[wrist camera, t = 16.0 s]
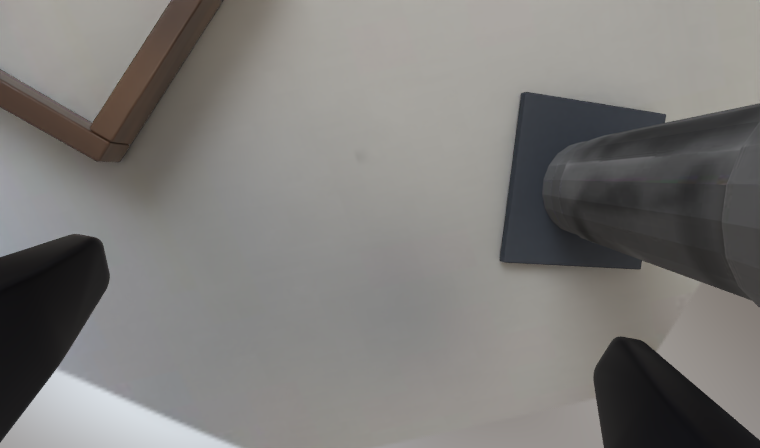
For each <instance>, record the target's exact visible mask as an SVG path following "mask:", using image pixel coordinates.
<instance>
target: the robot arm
mask: <svg viewBox="0 0 760 448" xmlns="http://www.w3.org/2000/svg"><path fill="white" fill-rule="evenodd" d="M109 279H110V274H109V269H108V265H107V260H106V256H105V251H104V246H103V243H102V242H101V241H100V240H99V239H98V238H95V237H90V236H85V235H80V234H72V235H68V236H65V237H62V238H59V239H56V240H53V241H50V242H46V243H43V244H40V245H37V246H34V247H31V248H28V249H25V250H22V251H19V252H16V253H12V254H9V255H6V256H3V257H0V442H1V441H2V440H3V438H4V437H5V436H6V434H7V433H8V432H9V430H10V429H11V428H12V426H13V425H14V424H15V422H16V421H17V420H18V419H19V417H20V416H21V415H22V413H23V412H24V411H25V409H26V408H27V407H28V405H29V404H30V403H31V402H32V400H33V399H34V398H35V396H36V395H37V394H38V392H39V391H40V390H41V389H42V387H43V386H44V385H45V383H46V382H47V381H48V379H49V378H50V377H51V375H52V374H53V373H54V371H55V370H56V368H57V367H58V366H59V364H60V363H61V361H62V360H63V358H64V357H65V355H66V354H67V352H68V351H69V349H70V347H71V346H72V344H73V343H74V341H75V339H76V338H77V336H78V334H79V333H80V331H81V330H82V328H83V326H84V325H85V323H86V321H87V320H88V318H89V317H90V315H91V313H92V312H93V310H94V308H95V307H96V305H97V304H98V302H99V300H100V299H101V297H102V295H103V294H104V292H105V291H106V289H107V287H108V284H109ZM594 387H595V393H596V400H597V406H598V413H599V419H600V426H601V432H602V438H603V445H604V448H760V440H759V439H758V438H756V437H755V436H754V435H753V434H751V433H750V432H749V431H748V430H747V429H746V428H745V427H743V426H742V425H741V424H740V423H738V421H736V420H735V419H734V418H733V417H732V416H730V415H729V414H728V413H727V412H726V411H725V410H723V409H722V408H721V407H720V406H719V405H718V404H716V403H715V402H714V401H713V400H712V399H710V398H709V397H708V396H707V395H706V394H705V393H703V392H702V391H701V390H700V389H699V388H698V387H696V386H695V385H694V384H693V383H692V382H690V381H689V380H688V379H687V378H686V377H685V376H683V375H682V374H681V373H680V372H679V371H678V370H676V369H675V368H674V367H673V366H672V365H670V364H669V363H668V362H667V361H666V360H665V359H663V358H662V357H661V356H660V355H659V354H658V353H656V352H655V351H654V350H653V349H652V348H651V347H649V346H648V345H647V344H646V343H644V342H643V341H641V340H637V339H632V338H626V337H616V338H615V339H613V340H612V341H611V343H610V345H609V346H608V348H607V349H606V351H605V353H604V354H603V356H602V357H601V359H600V361H599V362H598V364H597V365H596V367H595V370H594Z"/></svg>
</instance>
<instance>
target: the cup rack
mask: <svg viewBox="0 0 760 448" xmlns="http://www.w3.org/2000/svg"><path fill="white" fill-rule="evenodd" d="M222 1H223V0H171V1H170V3H169V5H168V6H167V8H166V9H165V11H164V12H163V14H162V16H161V17H160V19H159V20H158V22H157V23H156V25H155V26H154V28H153V30H152V31H151V33H150V34H149V36H148V37H147V39H146V40H145V42H144V44H143V45H142V47H141V48H140V50H139V51H138V53H137V54H136V56H135V58H134V59H133V61H132V62H131V64H130V65H129V67H128V69H127V70H126V72H125V73H124V75H123V76H122V78H121V79H120V81H119V83H118V84H117V86H116V87H115V89H114V90H113V92H112V93H111V95H110V97H109V98H108V100H107V101H106V103H105V104H104V106H103V107H102V109H101V111H100V112H99V114H98V115H97V117H96V118H95V120H94V121H93V123H91V122H90V121H88V120H86V119H84V118H83V117H81V116H79V115H77V114H76V113H74V112H72V111H71V110H69V109H67V108H65V107H64V106H62V105H60V104H59V103H57V102H55V101H53V100H52V99H50V98H48V97H47V96H45V95H43V94H41V93H40V92H38V91H36V90H35V89H33V88H31V87H29V86H28V85H26V84H24V83H23V82H21V81H19V80H17V79H16V78H14V77H12V76H11V75H9V74H7V73H5V72H4V71H2V70H0V107H1V108H3V109H4V110H6V111H8V112H10V113H11V114H13V115H15V116H17V117H19V118H20V119H22V120H24V121H26V122H27V123H29V124H31V125H33V126H35V127H36V128H38V129H40V130H42V131H44V132H45V133H47V134H49V135H51V136H52V137H54V138H56V139H58V140H60V141H61V142H63V143H65V144H67V145H68V146H70V147H72V148H74V149H76V150H77V151H79V152H81V153H83V154H85V155H86V156H88V157H90V158H92V159H93V160H95V161H98V162H120V161H121V159H122V158H123V156H124V155H125V153H126V152H127V150H128V148H129V144H132V142H133V141H134V139H135V138H136V136H137V134H138V133H139V131H140V130H141V128H142V127H143V125H144V123H145V122H146V120H147V119H148V117H149V116H150V114H151V113H152V111H153V109H154V108H155V106H156V105H157V103H158V102H159V100H160V98H161V97H162V95H163V94H164V92H165V91H166V89H167V87H168V86H169V84H170V83H171V81H172V80H173V78H174V77H175V75H176V73H177V72H178V70H179V69H180V67H181V66H182V64H183V62H184V61H185V59H186V58H187V56H188V55H189V53H190V52H191V50H192V48H193V47H194V45H195V44H196V42H197V41H198V39H199V37H200V36H201V34H202V33H203V31H204V30H205V28H206V27H207V25H208V23H209V22H210V20H211V19H212V17H213V16H214V14H215V12H216V11H217V9H218V8H219V6H220V5H221V3H222Z"/></svg>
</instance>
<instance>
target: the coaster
mask: <svg viewBox="0 0 760 448" xmlns="http://www.w3.org/2000/svg"><path fill="white" fill-rule="evenodd" d="M665 118H666V114H661V113H655V112H648V111H642V110H636V109H630V108H623V107H617V106H611V105H605V104H598V103H592V102H586V101H579V100H573V99H567V98H561V97H554V96H548V95H542V94H536V93H529V92H524V93H522V94H521V101H520V109H519V116H518V124H517V132H516V139H515V147H514V155H513V162H512V170H511V178H510V186H509V193H508V201H507V209H506V216H505V224H504V232H503V240H502V247H501V255H500V261H502V262H507V263H526V264H545V265H565V266H584V267H603V268H623V269H641V263H642V260H640V259H637V258H634V257H632V256H629V255H626V254H623V253H621V252H618V251H615V250H613V249H610V248H607V247H604V246H602V245H599V244H596V243H593V242H591V241H588V240H586V239H583V238H581V237H579V236H578V235H576V234H573V233H570V232H568V231H565V230H563V229H561V228H559V227H558V226H557V225H556V224H555V223H554V222H553V221H552V220H551V219H550V217H549V215H548V213H547V211H546V210H545V206H544V201H543V196H542V190H543V179H544V177H545V174H546V171H547V169H548V166H549V164H550V163H551V162H552V160H553V159H554V158H555V156H556V155H557V154H558V153H559V152H561V151H562V150H563V149H565V148H566V147H567V146H569V145H572V144H576V143H579V142H585V141H589V140H592V139H595V138H598V137H601V136H604V135H609V134H614V133H619V132H624V131H629V130H633V129H638V128H643V127H648V126H653V125H658V124H663V123H665Z"/></svg>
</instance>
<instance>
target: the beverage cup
mask: <svg viewBox="0 0 760 448" xmlns="http://www.w3.org/2000/svg"><path fill="white" fill-rule="evenodd" d="M542 196H543V201H544V206H545V210H546V211H547V213H548V215H549V217H550V219H551V220H552V221H553V222H554V223H555V224H556V225H557V226H558V227H559V228H561V229H563V230H565V231H568V232H570V233H573V234H576V235H578V236H579V237H581V238H583V239H586V240H588V241H591V242H593V243H596V244H599V245H602V246H604V247H607V248H610V249H613V250H615V251H618V252H621V253H623V254H626V255H629V256H632V257H634V258H637V259H640V260H643V261H645V262H648V263H651V264H654V265H656V266H659V267H662V268H665V269H667V270H670V271H673V272H675V273H678V274H681V275H684V276H686V277H689V278H692V279H695V280H697V281H700V282H703V283H706V284H708V285H711V286H714V287H717V288H719V289H722V290H725V291H728V292H730V293H733V294H736V295H739V296H741V297H744V298H747V299H750V300H752V301H753V302H754V303H755V304H756V305H757V306H758V307H760V104H755V105H750V106H745V107H740V108H735V109H730V110H726V111H721V112H716V113H711V114H706V115H701V116H697V117H692V118H687V119H682V120H677V121H672V122H667V123H663V124H658V125H653V126H648V127H643V128H638V129H633V130H629V131H624V132H619V133H614V134H609V135H604V136H601V137H598V138H595V139H592V140H589V141H585V142H579V143H576V144H572V145H569V146H567V147H566V148H565V149H563V150H562V151H561V152H559V153H558V154H557V155H556V156H555V158H554V159H553V160H552V162H551V163H550V164H549V166H548V169H547V171H546V174H545V177H544V179H543V190H542Z"/></svg>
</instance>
